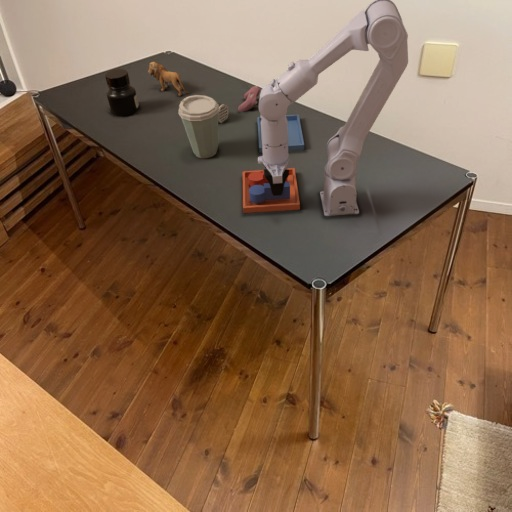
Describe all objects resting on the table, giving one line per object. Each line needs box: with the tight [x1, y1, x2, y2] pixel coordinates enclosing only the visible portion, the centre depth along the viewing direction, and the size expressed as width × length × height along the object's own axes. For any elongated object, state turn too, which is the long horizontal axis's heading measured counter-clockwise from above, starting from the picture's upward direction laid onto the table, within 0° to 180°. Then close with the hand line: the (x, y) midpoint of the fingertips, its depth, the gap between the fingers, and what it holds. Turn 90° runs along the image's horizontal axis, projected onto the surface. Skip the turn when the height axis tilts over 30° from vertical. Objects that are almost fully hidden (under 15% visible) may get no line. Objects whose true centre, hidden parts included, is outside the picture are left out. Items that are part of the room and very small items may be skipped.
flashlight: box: [178, 95, 230, 124], centre depth 154 cm, size 15×5×5 cm, turn 58°
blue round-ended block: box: [249, 182, 290, 203], centre depth 120 cm, size 10×4×4 cm, turn 91°
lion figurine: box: [146, 61, 190, 97], centre depth 168 cm, size 15×5×9 cm, turn 62°
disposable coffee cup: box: [177, 94, 219, 159], centre depth 135 cm, size 11×11×15 cm
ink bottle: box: [104, 68, 140, 117], centre depth 158 cm, size 10×9×12 cm
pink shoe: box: [237, 85, 262, 112], centre depth 157 cm, size 10×5×7 cm, turn 168°
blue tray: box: [256, 113, 305, 154], centre depth 143 cm, size 17×12×2 cm
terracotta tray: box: [242, 167, 301, 214], centre depth 124 cm, size 15×13×2 cm
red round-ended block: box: [248, 168, 288, 187], centre depth 125 cm, size 10×4×4 cm, turn 92°
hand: (277, 191), depth 120 cm, fingers closed on blue round-ended block, 2 cm apart
